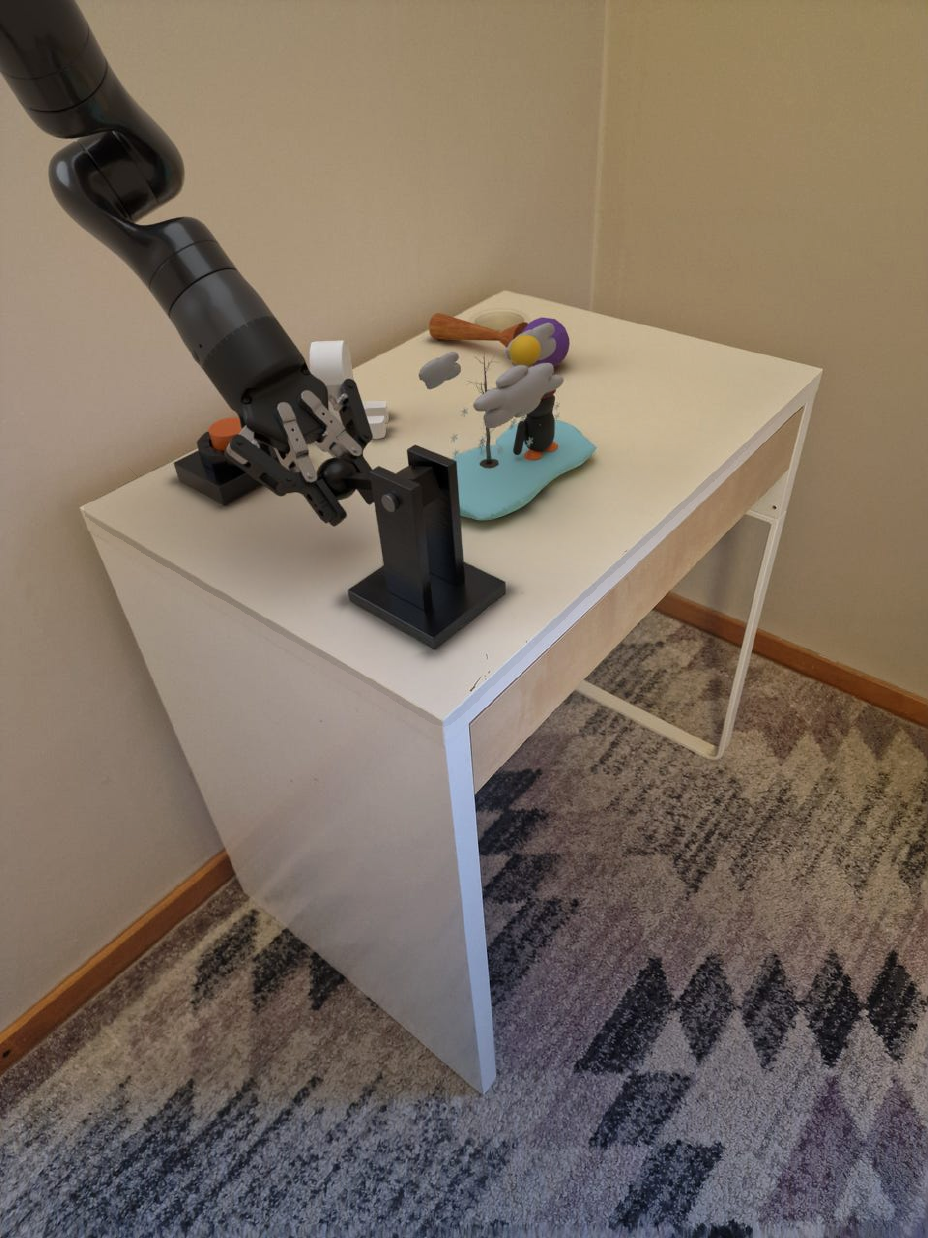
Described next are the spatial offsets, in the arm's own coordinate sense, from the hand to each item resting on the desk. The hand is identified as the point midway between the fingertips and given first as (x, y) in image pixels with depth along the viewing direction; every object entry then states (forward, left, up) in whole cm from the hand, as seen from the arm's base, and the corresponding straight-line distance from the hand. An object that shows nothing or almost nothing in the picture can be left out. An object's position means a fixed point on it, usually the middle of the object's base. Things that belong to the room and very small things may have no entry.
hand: (358, 509), depth 73 cm
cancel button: (+3, +23, -2) cm, 23 cm away
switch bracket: (0, -7, -6) cm, 10 cm away
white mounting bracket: (+16, +21, -6) cm, 27 cm away
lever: (0, -3, +2) cm, 4 cm away
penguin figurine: (+19, -1, -6) cm, 20 cm away
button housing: (+3, +23, -6) cm, 24 cm away
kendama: (+41, +19, -6) cm, 45 cm away
